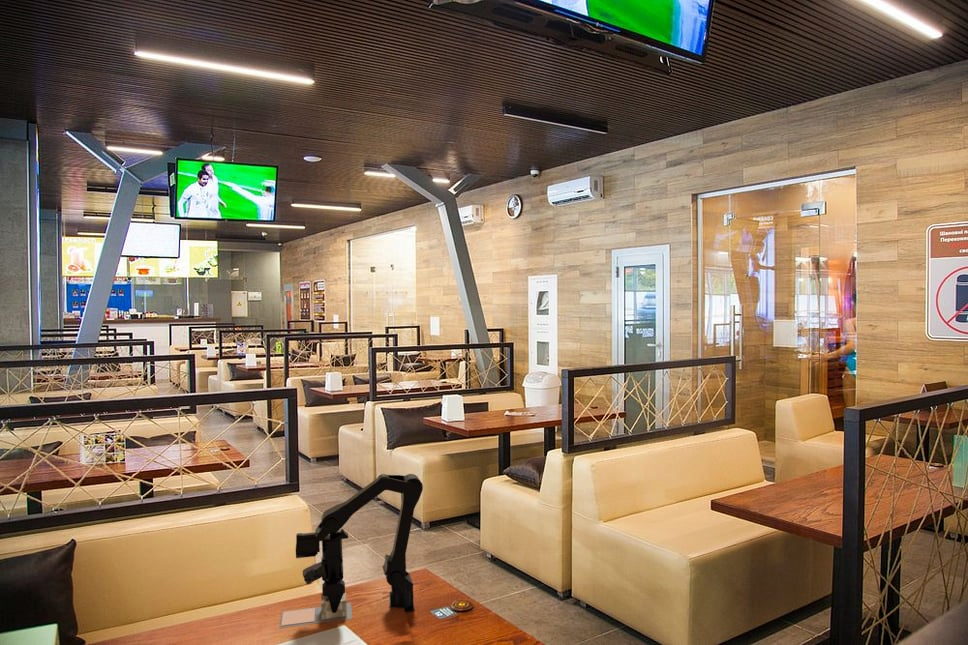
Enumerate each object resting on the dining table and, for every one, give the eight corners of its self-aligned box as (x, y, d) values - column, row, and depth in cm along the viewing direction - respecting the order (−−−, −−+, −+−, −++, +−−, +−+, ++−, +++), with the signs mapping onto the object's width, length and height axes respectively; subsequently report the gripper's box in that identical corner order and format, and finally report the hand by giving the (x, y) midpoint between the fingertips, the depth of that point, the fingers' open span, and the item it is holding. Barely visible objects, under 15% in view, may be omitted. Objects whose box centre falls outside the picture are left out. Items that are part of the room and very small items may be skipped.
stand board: (350, 605, 201) (350, 586, 200) (352, 621, 190) (351, 601, 190) (281, 614, 196) (281, 595, 196) (279, 631, 185) (278, 610, 185)
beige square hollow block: (345, 606, 198) (345, 590, 198) (346, 616, 191) (346, 600, 191) (321, 609, 197) (321, 593, 197) (321, 619, 190) (321, 603, 190)
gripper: (304, 546, 201) (306, 598, 201) (303, 568, 183) (304, 625, 183) (342, 542, 204) (343, 593, 204) (344, 564, 186) (346, 619, 186)
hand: (334, 607), depth 194 cm, fingers closed on beige square hollow block, 7 cm apart
